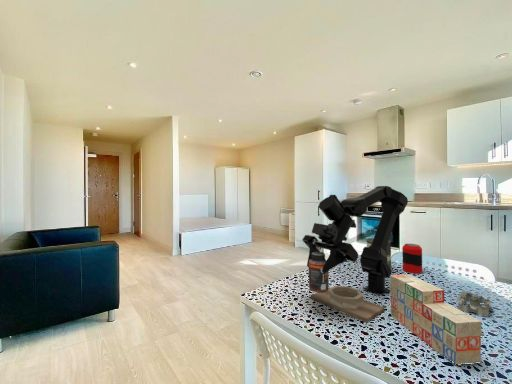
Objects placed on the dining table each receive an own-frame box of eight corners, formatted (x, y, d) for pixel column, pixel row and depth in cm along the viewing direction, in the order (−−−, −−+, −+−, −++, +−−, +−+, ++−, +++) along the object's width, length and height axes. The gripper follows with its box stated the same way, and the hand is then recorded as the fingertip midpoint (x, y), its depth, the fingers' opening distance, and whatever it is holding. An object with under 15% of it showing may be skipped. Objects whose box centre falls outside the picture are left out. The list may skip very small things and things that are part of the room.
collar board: (329, 290, 90) (329, 279, 90) (384, 310, 75) (384, 297, 75) (310, 298, 84) (310, 286, 84) (366, 322, 68) (366, 308, 68)
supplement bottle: (329, 294, 72) (329, 256, 71) (309, 293, 73) (308, 255, 73) (327, 286, 77) (327, 251, 77) (308, 285, 79) (308, 250, 78)
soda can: (399, 268, 115) (399, 242, 115) (416, 268, 114) (416, 243, 114) (407, 273, 108) (407, 246, 108) (425, 274, 107) (425, 247, 106)
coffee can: (384, 266, 117) (383, 237, 117) (396, 274, 107) (395, 242, 107) (362, 267, 117) (362, 238, 117) (372, 274, 107) (372, 242, 107)
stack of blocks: (482, 365, 51) (482, 307, 51) (455, 367, 51) (455, 308, 51) (409, 314, 73) (409, 273, 73) (390, 315, 72) (389, 274, 72)
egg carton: (487, 320, 69) (487, 305, 69) (454, 310, 75) (454, 297, 75) (493, 308, 76) (493, 295, 76) (462, 299, 82) (462, 287, 82)
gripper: (305, 211, 85) (281, 247, 79) (351, 216, 69) (325, 261, 63) (321, 231, 89) (300, 267, 83) (368, 240, 73) (345, 284, 68)
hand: (315, 269), depth 74 cm, fingers closed on supplement bottle, 6 cm apart
